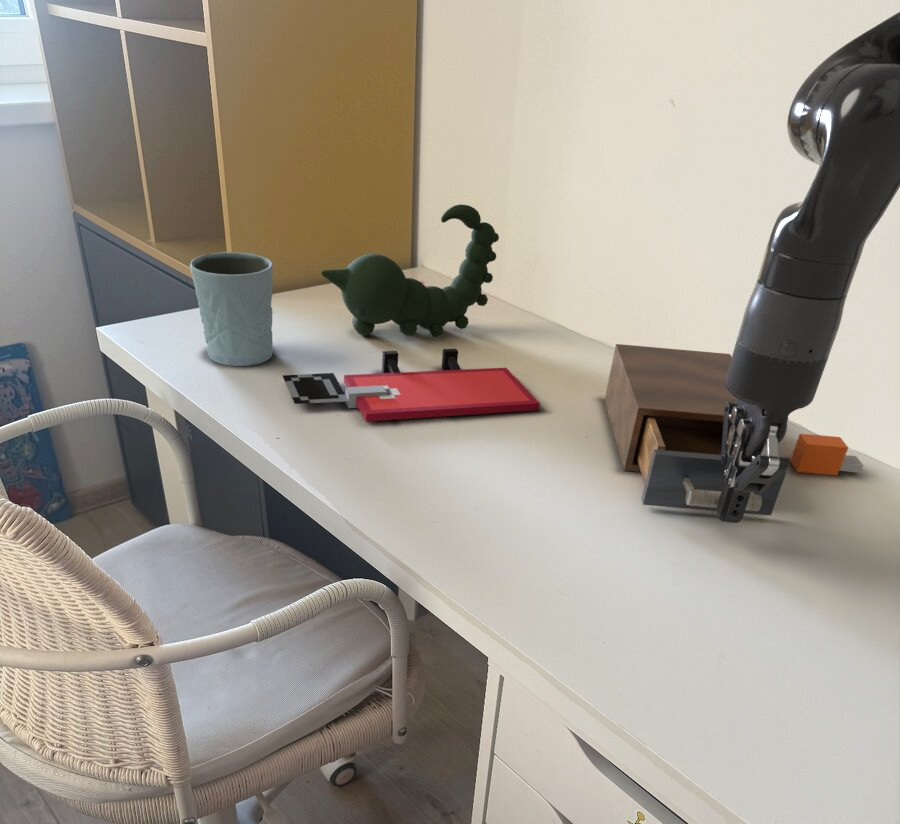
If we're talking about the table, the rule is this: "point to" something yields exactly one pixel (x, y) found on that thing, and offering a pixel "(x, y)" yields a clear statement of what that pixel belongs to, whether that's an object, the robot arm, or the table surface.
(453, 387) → the red board with handle
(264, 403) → the table surface
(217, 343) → the pale green cup
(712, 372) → the cabinet
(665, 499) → the drawer
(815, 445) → the orange and grey block
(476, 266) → the toy figurine
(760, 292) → the robot arm
